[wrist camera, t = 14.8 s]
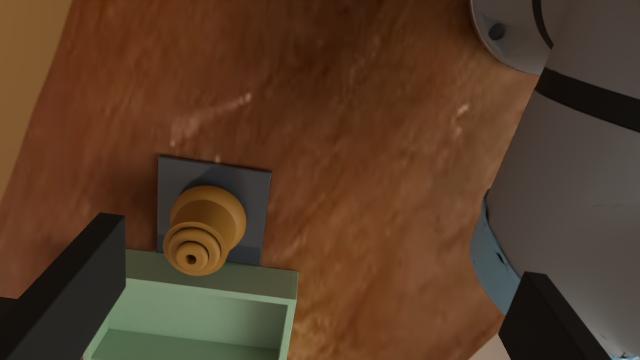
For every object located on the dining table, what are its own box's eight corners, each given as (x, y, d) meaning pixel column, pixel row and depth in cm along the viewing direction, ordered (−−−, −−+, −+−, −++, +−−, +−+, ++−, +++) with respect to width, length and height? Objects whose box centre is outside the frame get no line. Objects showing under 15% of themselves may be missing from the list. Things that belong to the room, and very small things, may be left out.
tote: (298, 271, 49) (296, 300, 45) (284, 353, 54) (281, 386, 50) (98, 244, 48) (76, 271, 44) (102, 331, 53) (83, 363, 48)
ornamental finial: (262, 225, 46) (204, 257, 48) (218, 168, 44) (158, 204, 45) (251, 271, 39) (183, 307, 41) (198, 206, 36) (127, 247, 38)
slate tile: (271, 171, 44) (271, 173, 44) (260, 262, 49) (259, 266, 48) (159, 154, 44) (157, 156, 43) (158, 249, 48) (156, 252, 48)
